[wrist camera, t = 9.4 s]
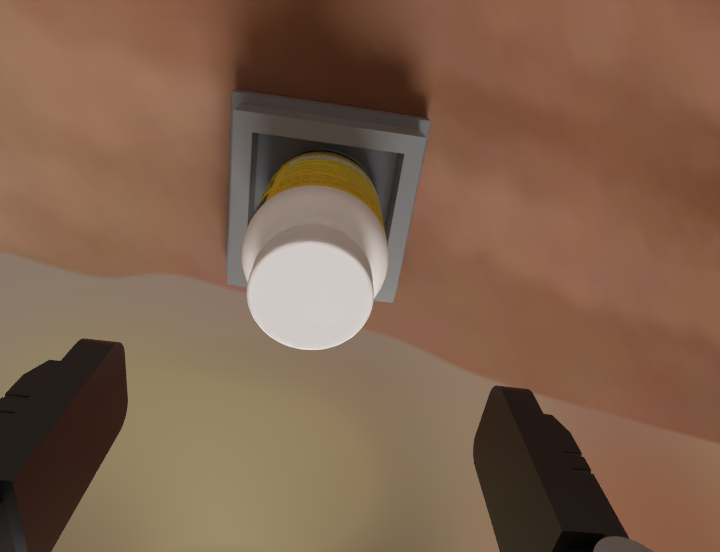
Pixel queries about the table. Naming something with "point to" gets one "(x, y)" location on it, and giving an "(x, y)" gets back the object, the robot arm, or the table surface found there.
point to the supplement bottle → (315, 251)
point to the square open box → (329, 131)
